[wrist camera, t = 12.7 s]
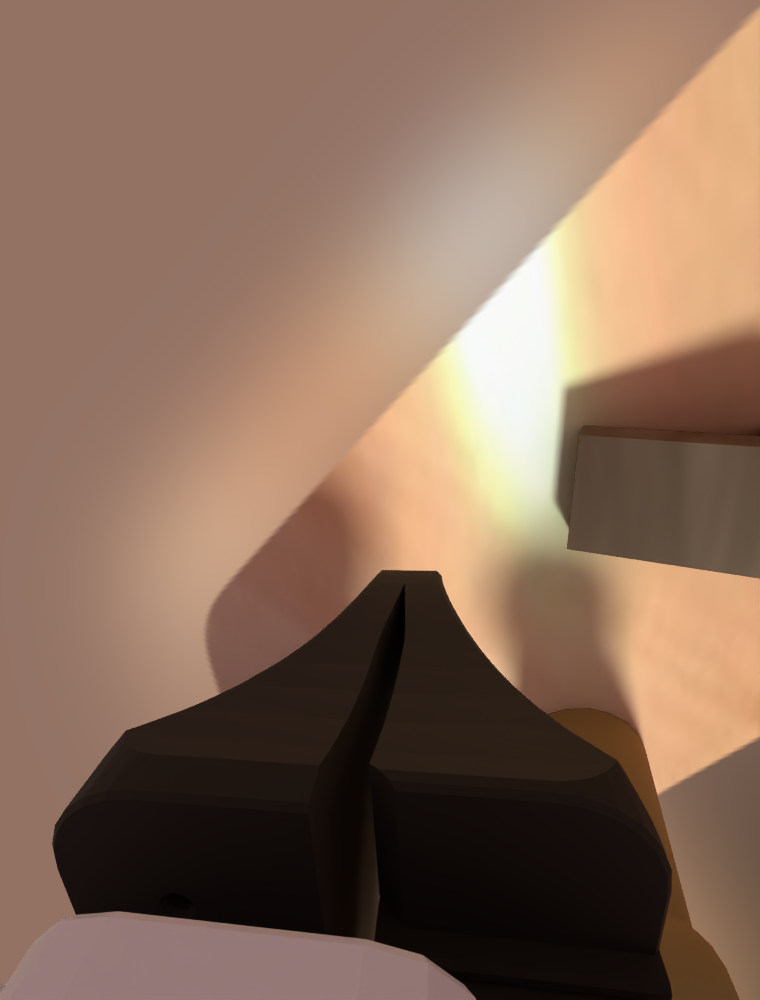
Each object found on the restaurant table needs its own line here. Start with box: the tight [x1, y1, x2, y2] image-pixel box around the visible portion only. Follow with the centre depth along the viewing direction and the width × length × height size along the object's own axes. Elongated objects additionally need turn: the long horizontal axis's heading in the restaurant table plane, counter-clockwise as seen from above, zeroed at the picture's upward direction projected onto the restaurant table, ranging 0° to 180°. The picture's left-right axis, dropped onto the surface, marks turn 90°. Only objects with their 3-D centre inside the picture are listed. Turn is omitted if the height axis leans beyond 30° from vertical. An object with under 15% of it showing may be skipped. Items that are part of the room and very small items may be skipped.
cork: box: [548, 709, 739, 1000], centre depth 20 cm, size 6×6×11 cm
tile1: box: [567, 426, 760, 578], centre depth 18 cm, size 2×4×7 cm
